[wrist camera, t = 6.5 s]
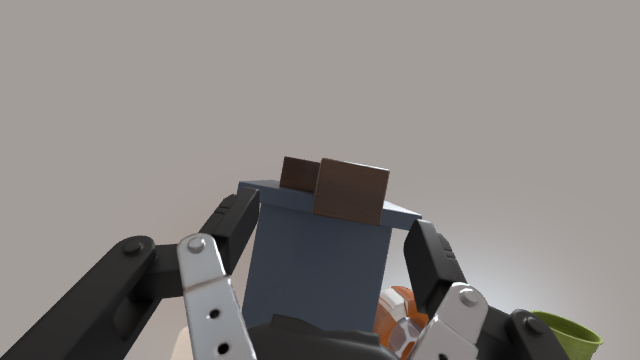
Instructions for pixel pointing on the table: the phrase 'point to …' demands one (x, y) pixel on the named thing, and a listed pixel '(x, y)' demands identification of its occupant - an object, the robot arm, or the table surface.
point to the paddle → (339, 188)
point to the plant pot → (572, 336)
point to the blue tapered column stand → (316, 261)
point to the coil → (398, 320)
